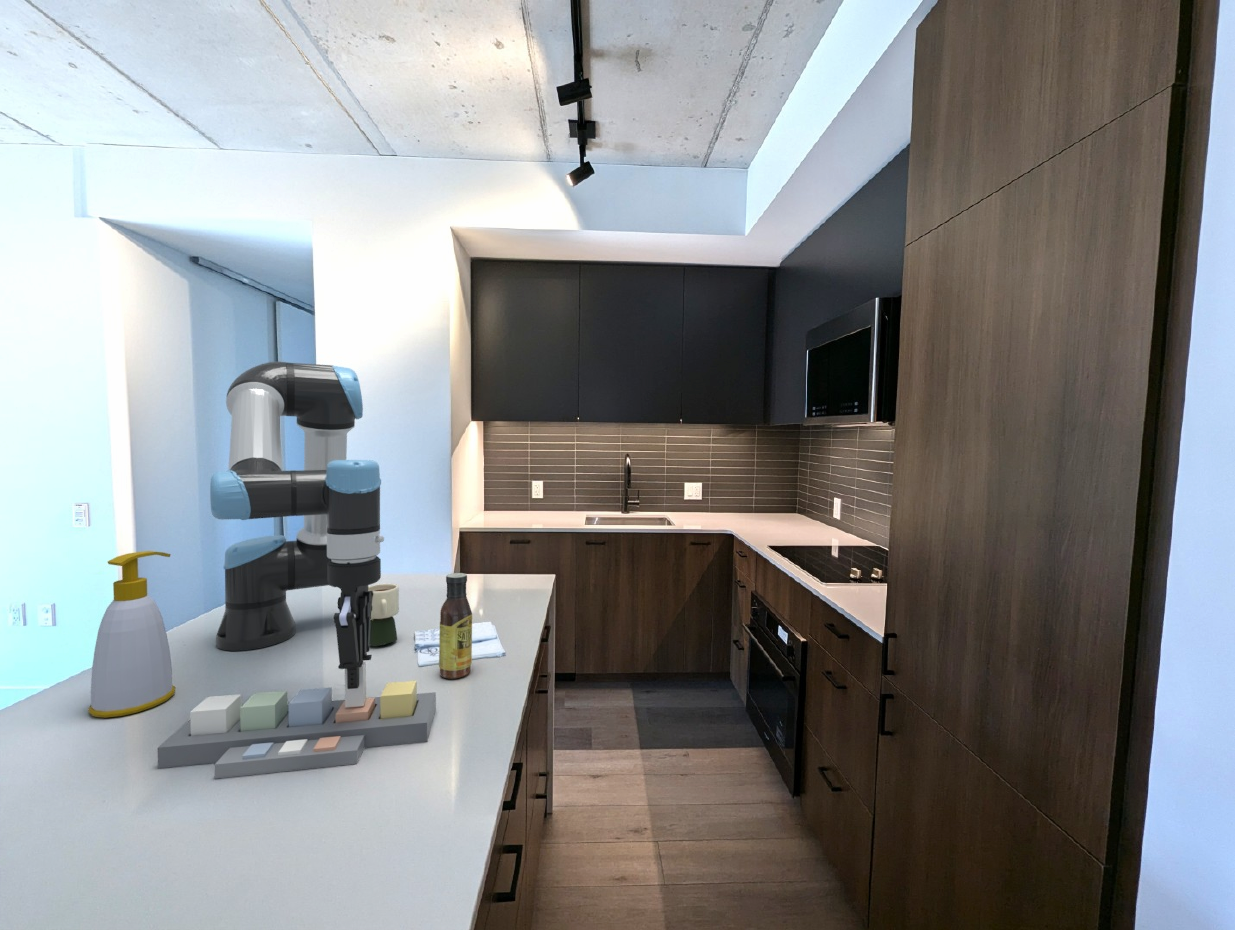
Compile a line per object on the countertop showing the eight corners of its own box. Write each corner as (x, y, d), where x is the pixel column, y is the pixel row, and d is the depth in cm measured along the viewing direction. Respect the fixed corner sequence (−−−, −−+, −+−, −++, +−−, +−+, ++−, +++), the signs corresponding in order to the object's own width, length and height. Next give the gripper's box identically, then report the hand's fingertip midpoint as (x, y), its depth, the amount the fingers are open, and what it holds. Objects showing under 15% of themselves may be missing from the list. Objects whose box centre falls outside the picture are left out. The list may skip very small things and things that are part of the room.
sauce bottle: (462, 682, 101) (462, 580, 100) (432, 678, 102) (432, 578, 101) (477, 667, 107) (477, 572, 106) (449, 664, 108) (449, 570, 108)
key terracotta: (344, 724, 85) (344, 700, 85) (375, 721, 86) (374, 697, 86) (335, 739, 81) (335, 714, 80) (367, 736, 81) (367, 711, 81)
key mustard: (387, 706, 86) (387, 682, 86) (416, 704, 87) (416, 680, 87) (380, 721, 82) (380, 696, 82) (411, 718, 83) (411, 693, 83)
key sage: (255, 717, 82) (254, 693, 82) (287, 715, 83) (287, 690, 83) (240, 733, 78) (240, 707, 78) (275, 730, 79) (274, 704, 79)
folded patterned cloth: (494, 628, 132) (494, 619, 132) (506, 659, 113) (506, 649, 113) (413, 636, 125) (413, 627, 125) (412, 671, 106) (412, 661, 106)
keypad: (199, 730, 83) (198, 711, 83) (435, 709, 91) (435, 692, 90) (138, 786, 69) (137, 764, 69) (422, 756, 77) (422, 736, 77)
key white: (208, 721, 81) (207, 696, 81) (241, 719, 82) (241, 694, 82) (190, 738, 76) (190, 711, 76) (226, 735, 77) (225, 708, 77)
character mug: (363, 638, 122) (362, 583, 122) (396, 633, 126) (395, 579, 125) (367, 654, 113) (366, 595, 112) (402, 648, 117) (401, 591, 116)
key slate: (300, 714, 84) (300, 689, 83) (332, 711, 85) (331, 687, 84) (288, 729, 79) (288, 703, 79) (322, 726, 80) (321, 701, 80)
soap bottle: (192, 693, 95) (189, 550, 94) (114, 725, 84) (109, 564, 83) (152, 683, 99) (148, 546, 98) (72, 712, 88) (67, 558, 87)
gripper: (369, 566, 76) (370, 723, 77) (389, 548, 89) (390, 684, 90) (313, 568, 75) (315, 728, 76) (341, 550, 88) (343, 687, 89)
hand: (355, 704), depth 83 cm, fingers closed
